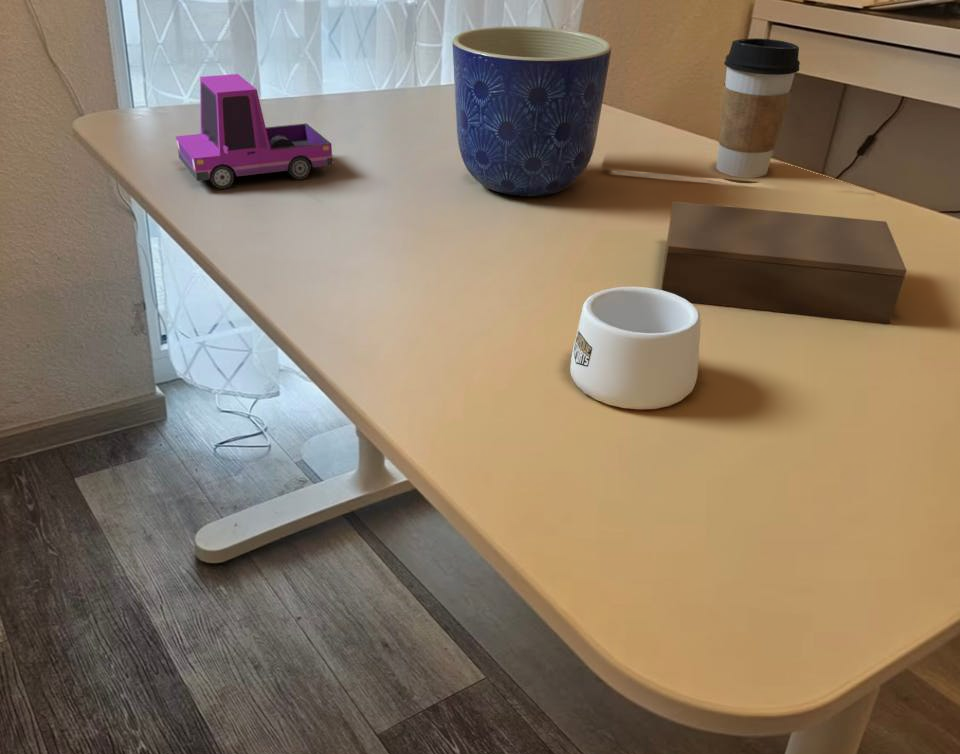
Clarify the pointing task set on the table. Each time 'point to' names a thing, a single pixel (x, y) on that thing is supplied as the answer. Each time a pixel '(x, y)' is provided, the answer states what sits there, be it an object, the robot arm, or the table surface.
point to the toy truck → (246, 137)
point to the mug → (636, 348)
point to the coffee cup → (754, 104)
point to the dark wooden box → (783, 262)
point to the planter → (528, 105)
